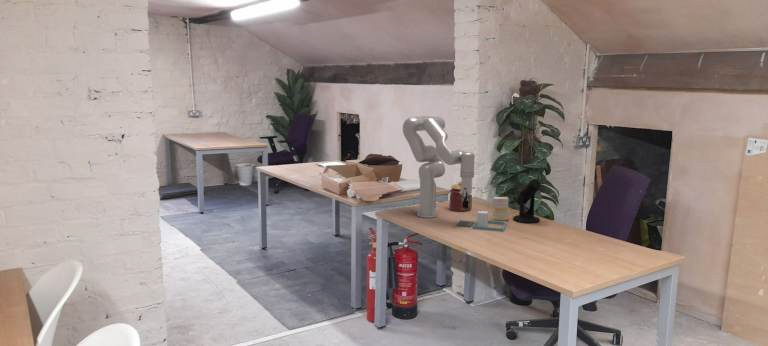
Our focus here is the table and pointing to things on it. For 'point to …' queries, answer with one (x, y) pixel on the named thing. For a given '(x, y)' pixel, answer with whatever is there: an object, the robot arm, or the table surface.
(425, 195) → the robot arm
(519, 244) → the table surface
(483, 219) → the grey block
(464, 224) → the mat
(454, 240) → the table surface
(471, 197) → the walnut block
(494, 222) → the tray
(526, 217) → the microphone
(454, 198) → the canister
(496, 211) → the supplement box
